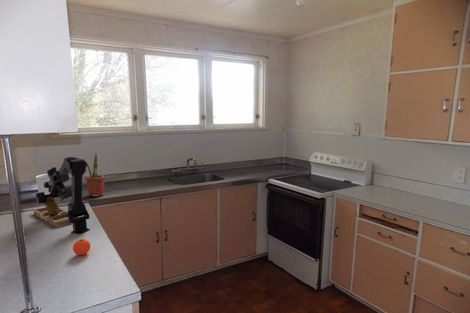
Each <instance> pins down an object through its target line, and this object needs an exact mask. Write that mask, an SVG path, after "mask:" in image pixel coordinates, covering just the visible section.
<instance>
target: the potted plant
mask: <svg viewBox="0 0 470 313" xmlns="http://www.w3.org/2000/svg"><path fill="white" fill-rule="evenodd" d="M94 152H95V155H94V157H93V158H94V159H93V164H92V165H93V168H92V170H91V168H90V165H89V164H88V163H89V162H88V161H87V160H86V159H84V158H83V159H84V160H85V161H86V162H87V167H86V168H87V170H86V172H85V173H87V172H89V175H88V176H86V177H85V180H86V186H87V192H88V194H89V195H90V196H91V195H101V194H102V195H103V193H104V191H105V179H104V178H105V175H104V174H103V175H102V174H99V175H98V167H99V166H100V165H101V164H100V161H98V158H100V155H98V152H99V151H98V150H94ZM102 195H101V196H102Z"/></svg>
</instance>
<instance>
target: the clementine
mask: <svg viewBox="0 0 470 313" xmlns="http://www.w3.org/2000/svg"><path fill="white" fill-rule="evenodd" d="M90 249H91V243H90V241H89V240H88V239H86V238H81V237H80V238H77V239H76V241H75V242H74V243H73V245H72V250H73V252H74V254H75V255H77V256H84V255H86V254H87V253H88V252H89V251H90Z"/></svg>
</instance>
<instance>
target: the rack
mask: <svg viewBox="0 0 470 313" xmlns="http://www.w3.org/2000/svg"><path fill="white" fill-rule="evenodd" d="M32 210H33V215H34V216H36V217H37V218H39V219H40V220H43V221H44V222H45V223H47V224H49V225H51V226H52V227H54V228H56V229H57V228H60V227H64V226H67V225H71V224H72V225H73V223H69V219H68V215H67V211H68V210H65V209H64V208H61V207H59V210H60V212H62V213H60V214H56V215H53V216H49V214H48V211H47V208H46V206H44V207H40V208H36V209H32ZM63 211H65V212H63ZM48 216H49V217H48ZM76 218H78V217H76ZM74 219H75V218H74Z"/></svg>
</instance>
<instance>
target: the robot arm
mask: <svg viewBox="0 0 470 313" xmlns="http://www.w3.org/2000/svg"><path fill="white" fill-rule="evenodd" d="M85 160H86V159H85ZM85 160H84V158H78V157H75V156H67V157H64V158H63V162H62V163H61V166H60V168H59V169H58V168H57V167H56V166H55V167H54V166H53V167H51V168H50V169H47V171H46V174H48V176H49V179H50V181H48V182H44V185H43V186H44V188H48V191H49V192H50V194H48V195H45V194H44V192H40V193H38V192H37V193H35V196H34V197H35V199H36V201H37V203H38V204H41V205H43V206H46V205H45V204H46V201H47V199H49V198H52V199H53V198H55V199H57V197H58V198H59V201H60V202H63V201H65V200H67V199H70V198H71V201H70V202H68V203H67V210H66V211H67V215H68V219H69V223H72V231H70V233H71V234H76V235H80V234H84V233H86V232H87V231H90V228H88V225H87V224H88V223H87V220H89V219H90V214H89V212H88V209H87V207H86V205H85V203H84V202H83V176H84V175H85V173H87V172H86V171H87V168H88V167H87V162H88V161H87V160H86V161H87V162H86V161H85ZM69 174H70V175H71V187H70V186H68V187H66V183H67V182H68V181H69V179H70V175H69ZM76 217H78V218H76ZM74 218H75V219H74Z"/></svg>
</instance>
